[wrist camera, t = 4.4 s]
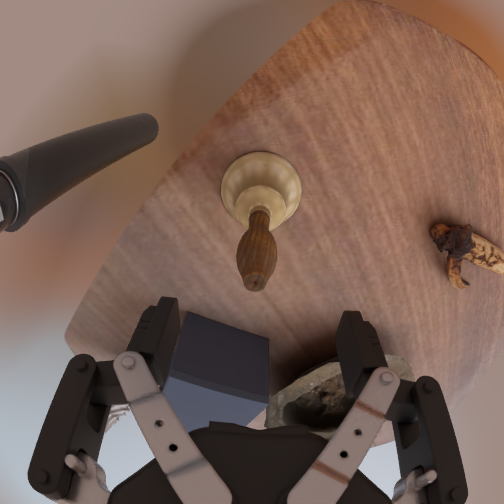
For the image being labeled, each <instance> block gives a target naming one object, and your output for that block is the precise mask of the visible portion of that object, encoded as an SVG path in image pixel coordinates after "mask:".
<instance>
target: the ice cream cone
mask: <svg viewBox="0 0 504 504" xmlns="http://www.w3.org/2000/svg"><path fill="white" fill-rule="evenodd" d="M127 405H129V404H119V405H112V406H111V410H110V413H109V417H108V421H107V424H106V428H105V433H106V432H107V431H108V430H109V429H110V428H111V427H112V426H113V425H114V424H116V423H117V421H119V417H120V416H126V414H125V412H129V410H130V409H129V408H128V406H127Z"/></svg>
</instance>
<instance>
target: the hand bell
mask: <svg viewBox="0 0 504 504" xmlns="http://www.w3.org/2000/svg"><path fill="white" fill-rule="evenodd" d="M301 194H302V186H301V181H300V178H299V175H298V173H297V172H296V170H295V168H294V167H293V166H292V165H291V164H290V163H289V162H288V161H287V160H285V159H284V158H282V157H280V156H278V155H276V154H273V153H269V152H253V153H249V154H246V155H243V156H242V157H240V158H238V159H237V160H235V161H234V162H233V163H232V164H231V165H230V166H229V167H228V168H227V170H226V172H225V173H224V176H223V178H222V182H221V197H222V201H223V203H224V206H225V207H226V209H227V211H228V212H229V213H230V214H231V216H232V217H234V218H235V219H236V220H237V221H239V222H240V223H241V225H243V226H244V227H245V228H246V229H248V230H247V231H246V232H245V234H244V235H243V236H242V238H241V240H240V242H239V245H238V249H237V256H236V258H237V266H238V270H239V272H240V274H241V276H242V279H243V283H244V286H245V287H246V289H248V290H250V291H252V292H258V291H261V290H263V289H264V287H265V286H266V284H267V281H268V280H269V278H270V276H271V275H272V273H273V271H274V269H275V266H276V262H277V247H276V243H275V240H274V237H273V236H272V234H271V233H270V231H271V230H273V229H275V228H276V227H277V226H279V225H280V224H281V223H282V222H284V221H285V220H287V219H288V218H289V217H290V216H291V215H292V214H293V213H294V212H295V210H296V209H297V207H298V205H299V203H300V199H301Z"/></svg>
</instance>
